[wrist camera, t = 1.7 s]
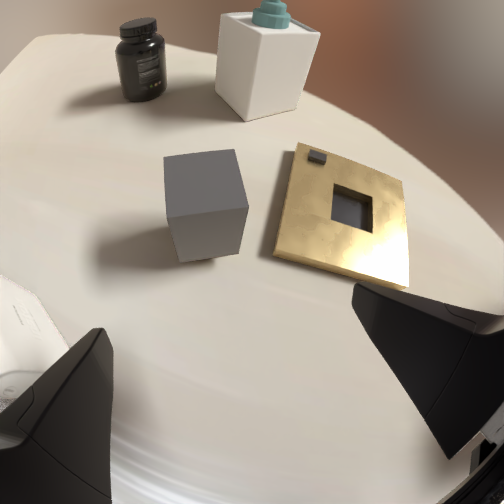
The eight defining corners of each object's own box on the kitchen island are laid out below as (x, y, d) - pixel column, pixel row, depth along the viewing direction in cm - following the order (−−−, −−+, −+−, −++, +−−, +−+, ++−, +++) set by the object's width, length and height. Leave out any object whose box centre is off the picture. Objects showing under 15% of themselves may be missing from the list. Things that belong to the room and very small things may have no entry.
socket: (399, 290, 25) (411, 284, 23) (272, 255, 25) (277, 245, 23) (395, 187, 31) (403, 178, 29) (294, 150, 30) (299, 138, 29)
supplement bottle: (172, 79, 34) (170, 13, 24) (160, 102, 32) (154, 27, 21) (132, 81, 34) (124, 18, 23) (117, 104, 31) (102, 35, 20)
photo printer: (92, 374, 18) (-4, 370, 7) (66, 401, 17) (-31, 410, 5) (37, 288, 20) (-45, 232, 9) (14, 315, 18) (-70, 273, 7)
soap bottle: (262, 80, 37) (285, -25, 19) (296, 109, 34) (335, -9, 17) (213, 90, 34) (224, -29, 17) (245, 122, 32) (270, -19, 14)
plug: (236, 262, 24) (248, 207, 16) (182, 271, 23) (166, 217, 15) (226, 216, 26) (234, 149, 18) (176, 223, 25) (163, 157, 17)
